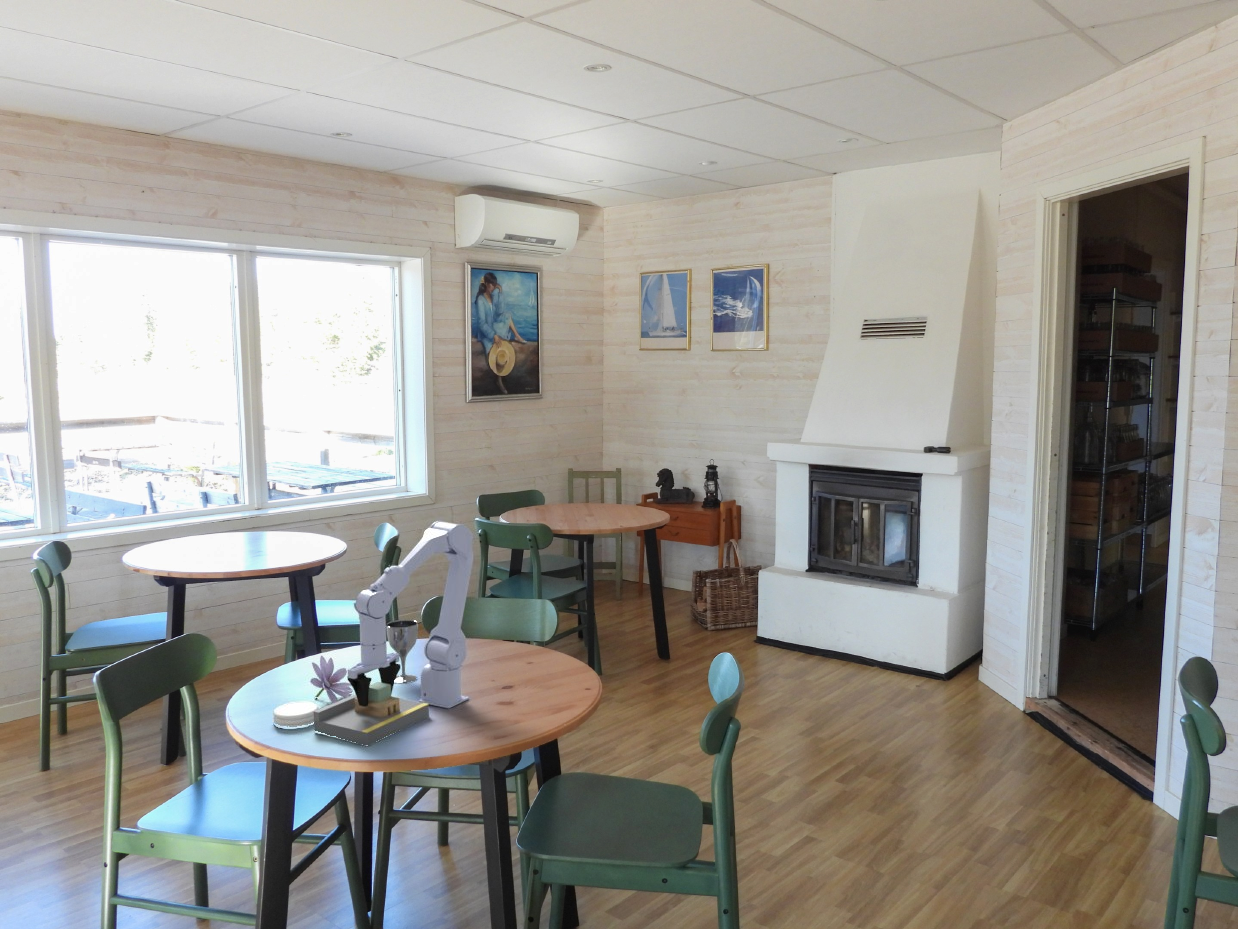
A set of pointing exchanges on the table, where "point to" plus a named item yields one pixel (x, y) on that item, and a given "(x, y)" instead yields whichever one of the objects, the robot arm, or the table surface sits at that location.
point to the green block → (379, 692)
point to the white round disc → (295, 714)
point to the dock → (366, 720)
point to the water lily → (330, 680)
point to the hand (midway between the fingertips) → (375, 700)
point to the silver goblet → (402, 643)
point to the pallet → (379, 707)
